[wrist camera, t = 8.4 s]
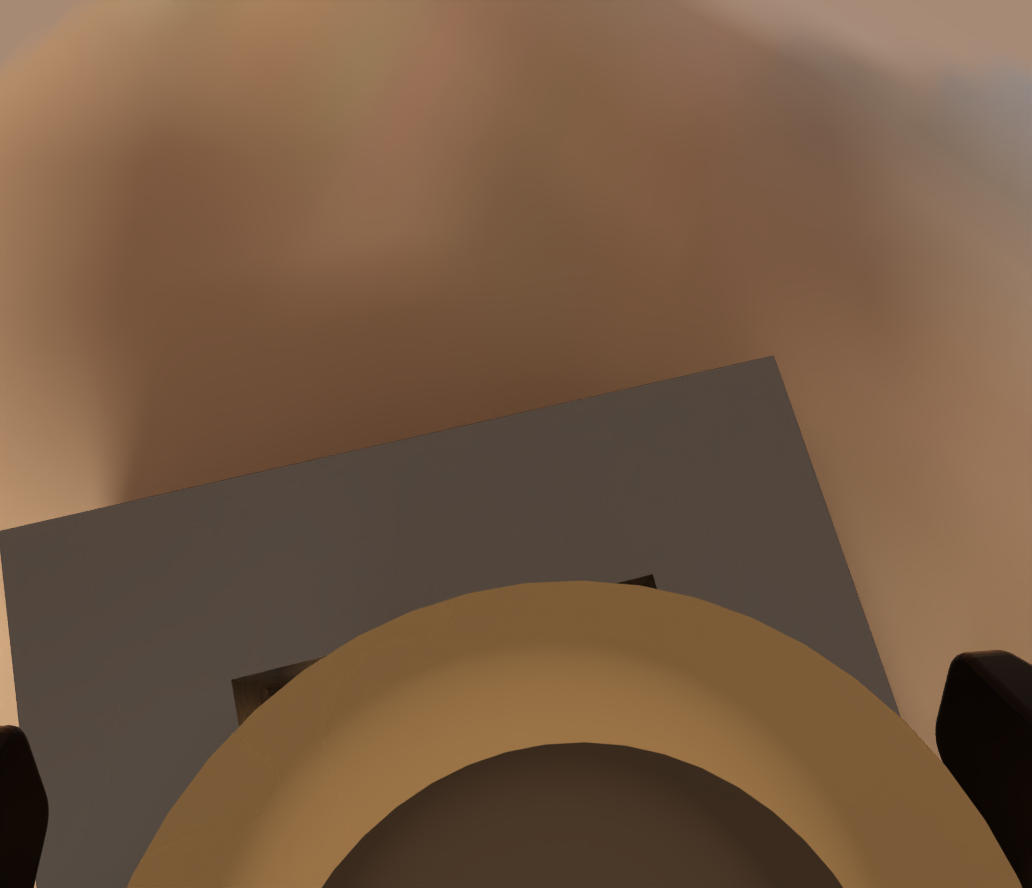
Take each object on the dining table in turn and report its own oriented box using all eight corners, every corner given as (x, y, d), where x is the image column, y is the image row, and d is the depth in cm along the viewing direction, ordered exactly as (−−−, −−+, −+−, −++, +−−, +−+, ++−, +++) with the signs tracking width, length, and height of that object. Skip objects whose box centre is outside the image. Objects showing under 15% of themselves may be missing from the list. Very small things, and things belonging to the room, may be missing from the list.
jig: (920, 1097, 15) (1077, 1217, 11) (209, 1329, 14) (108, 1556, 10) (707, 439, 18) (773, 355, 14) (105, 580, 17) (-3, 531, 13)
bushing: (646, 926, 15) (1274, 1543, 4) (397, 999, 15) (138, 2010, 3) (579, 674, 17) (883, 488, 5) (345, 735, 16) (1, 707, 4)
